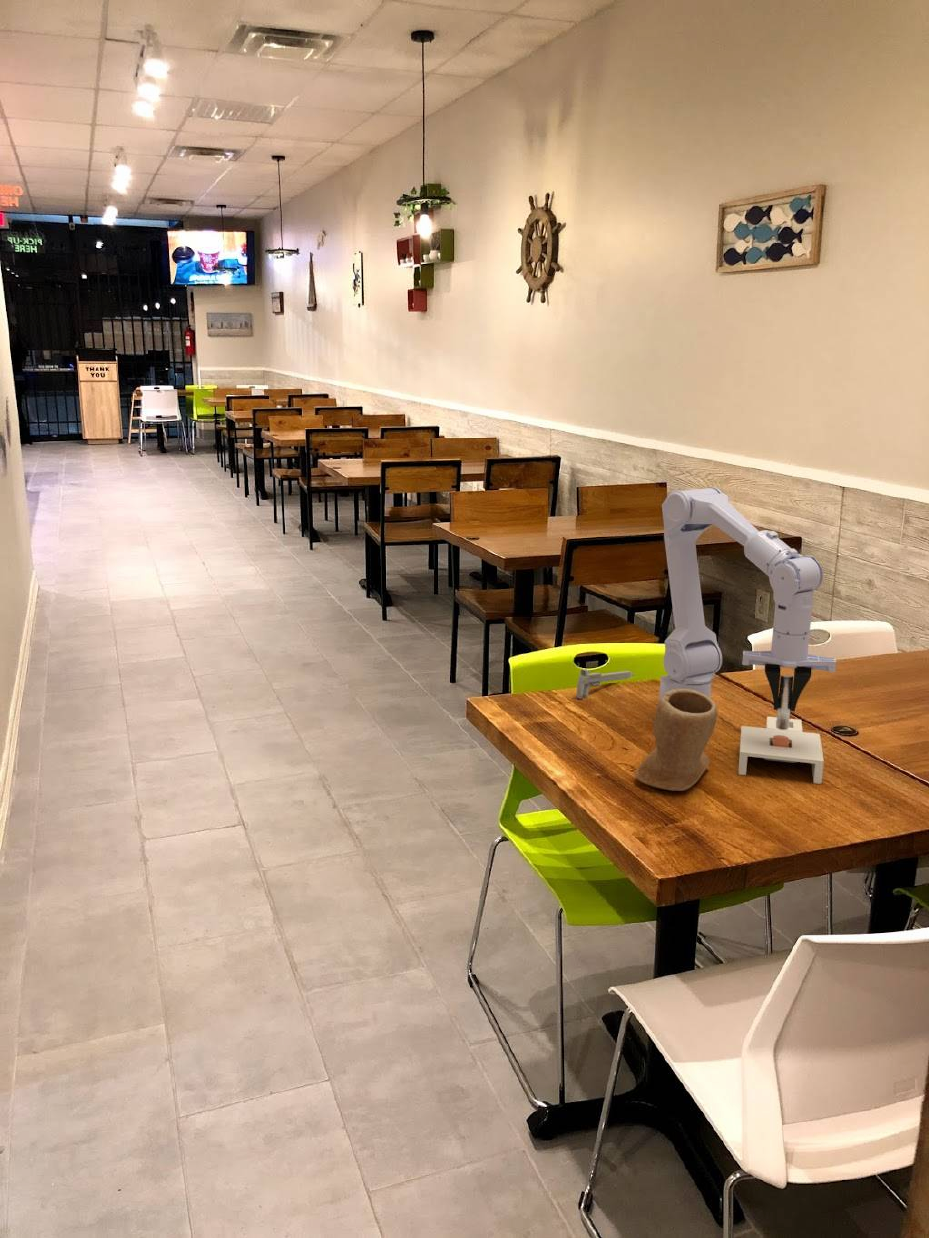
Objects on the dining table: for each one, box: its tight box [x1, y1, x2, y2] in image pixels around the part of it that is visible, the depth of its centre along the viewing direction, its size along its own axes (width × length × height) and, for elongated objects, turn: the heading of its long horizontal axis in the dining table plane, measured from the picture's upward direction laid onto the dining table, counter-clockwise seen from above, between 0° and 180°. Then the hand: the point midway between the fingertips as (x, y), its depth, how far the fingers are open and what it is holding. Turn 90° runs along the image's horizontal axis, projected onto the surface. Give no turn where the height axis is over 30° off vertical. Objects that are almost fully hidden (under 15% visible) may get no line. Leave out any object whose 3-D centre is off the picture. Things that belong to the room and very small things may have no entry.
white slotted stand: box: [737, 725, 825, 785], centre depth 163 cm, size 13×12×4 cm
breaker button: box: [764, 735, 796, 764], centre depth 163 cm, size 5×5×3 cm
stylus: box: [776, 674, 794, 730], centre depth 161 cm, size 2×2×9 cm
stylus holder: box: [765, 716, 804, 732], centre depth 175 cm, size 6×6×2 cm
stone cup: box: [635, 689, 718, 792], centre depth 157 cm, size 15×12×15 cm
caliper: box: [576, 668, 635, 700], centre depth 201 cm, size 20×1×6 cm, turn 139°
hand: (784, 708), depth 161 cm, fingers closed on stylus, 2 cm apart
